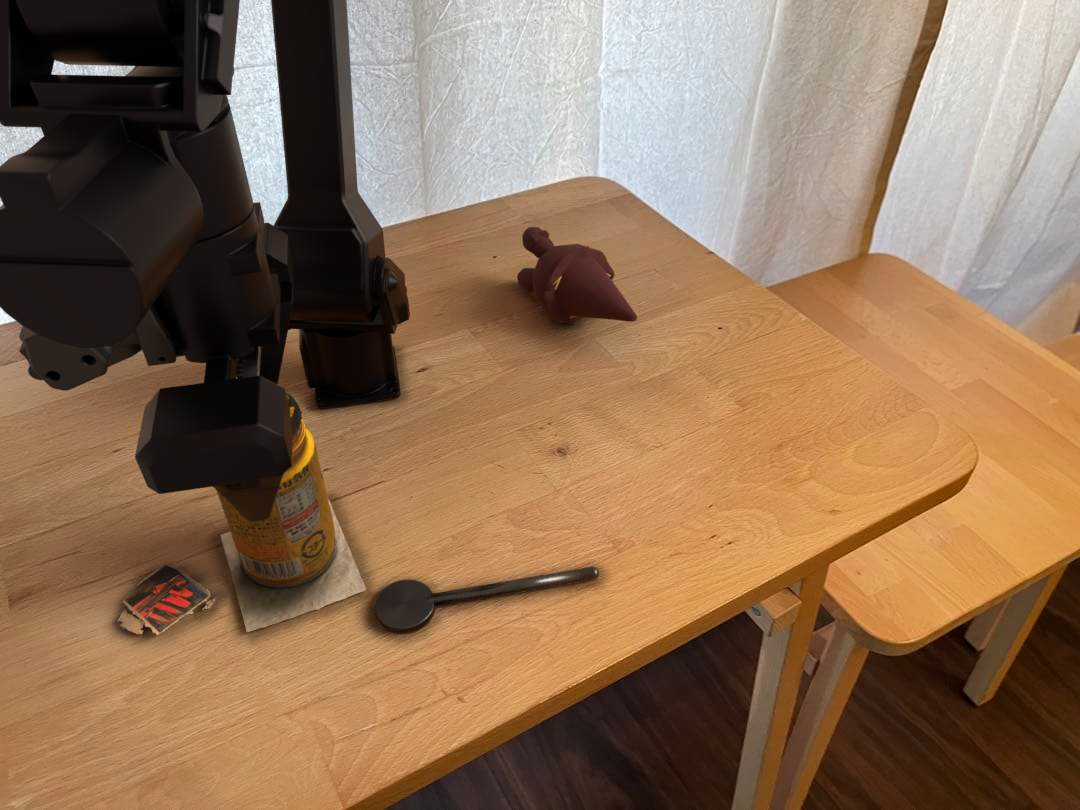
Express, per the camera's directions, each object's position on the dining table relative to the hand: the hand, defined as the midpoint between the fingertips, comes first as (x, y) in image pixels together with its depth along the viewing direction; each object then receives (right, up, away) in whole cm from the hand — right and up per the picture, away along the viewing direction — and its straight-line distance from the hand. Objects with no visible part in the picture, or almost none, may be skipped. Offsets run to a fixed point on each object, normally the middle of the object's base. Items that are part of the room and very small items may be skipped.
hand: (261, 459), depth 50 cm
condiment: (0, -7, +6) cm, 9 cm away
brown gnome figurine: (+19, +11, +27) cm, 35 cm away
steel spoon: (+13, -9, +4) cm, 16 cm away
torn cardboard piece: (-7, -9, +3) cm, 12 cm away
